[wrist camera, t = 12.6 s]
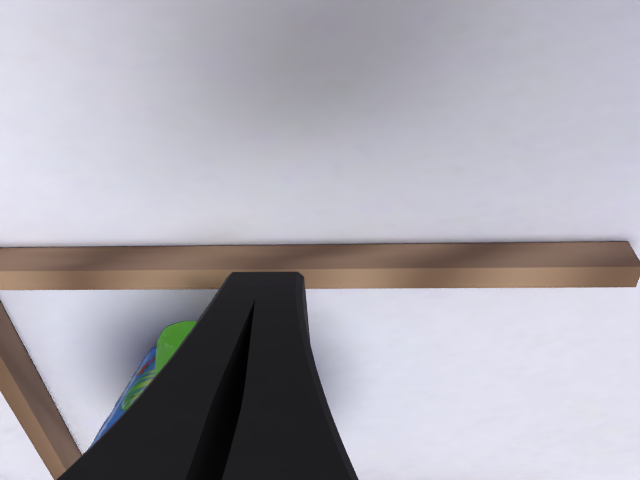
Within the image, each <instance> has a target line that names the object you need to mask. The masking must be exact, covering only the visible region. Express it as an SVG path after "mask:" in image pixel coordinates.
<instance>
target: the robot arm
mask: <svg viewBox="0 0 640 480" xmlns="http://www.w3.org/2000/svg"><path fill="white" fill-rule="evenodd" d="M56 480H358V477H357V475H356V473H355V471H354V468H353V466H352V464H351V462H350V459H349V457H348V455H347V452H346V450H345V448H344V445H343V443H342V440H341V438H340V435H339V433H338V430H337V428H336V425H335V423H334V420H333V417H332V414H331V412H330V409H329V406H328V403H327V400H326V397H325V394H324V391H323V388H322V385H321V382H320V379H319V376H318V372H317V369H316V366H315V362H314V358H313V354H312V350H311V346H310V337H309V326H308V315H307V303H306V292H305V281H304V276H303V275H302V274H300V273H299V272H232V273H231V274H230V275H229V276H227V278H226V279H225V281H224V283H223V284H222V286H221V287H220V289H219V290H218V292H217V293H216V295H215V297H214V298H213V300H212V301H211V303H210V304H209V305H208V307H207V308H206V310H205V311H204V313H203V314H202V316H201V317H200V318H199V320H198V321H197V323H196V324H195V326H194V327H193V328H192V330H191V331H190V332H189V334H188V335H187V336H186V338H185V339H184V340H183V342H182V343H181V344H180V346H179V347H178V348H177V350H176V351H175V352H174V354H173V355H172V356H171V358H170V359H169V360H168V361H167V363H166V364H165V365H164V366H163V368H162V369H161V370H160V371H159V372H158V374H157V375H156V376H155V377H154V378H153V380H152V381H151V382H150V383H149V384H148V386H147V387H146V388H145V389H144V390H143V392H142V393H141V394H140V395H139V396H138V397H137V399H136V400H135V401H134V402H133V403H132V404H131V405H130V406H129V408H128V409H127V410H126V411H125V412H124V413H123V414H122V415H121V416H120V417H119V418H118V420H117V421H116V422H115V423H114V424H113V425H112V426H111V427H110V428H109V429H108V430H107V431H106V432H105V433H104V434H103V435H102V436H101V437H100V438H99V439H98V440H97V441H96V442H95V443H94V444H93V445H92V446H91V447H90V448H89V449H88V450H87V451H86V452H85V453H84V454H83V455H82V456H81V457H80V458H79V459H78V460H77V461H75V462H74V463H73V464H72V465H71V466H70V467H69V468H68V469H67V470H66V471H65V472H64V473H63V474H62V475H61V476H60V477H59V478H57V479H56Z"/></svg>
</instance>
